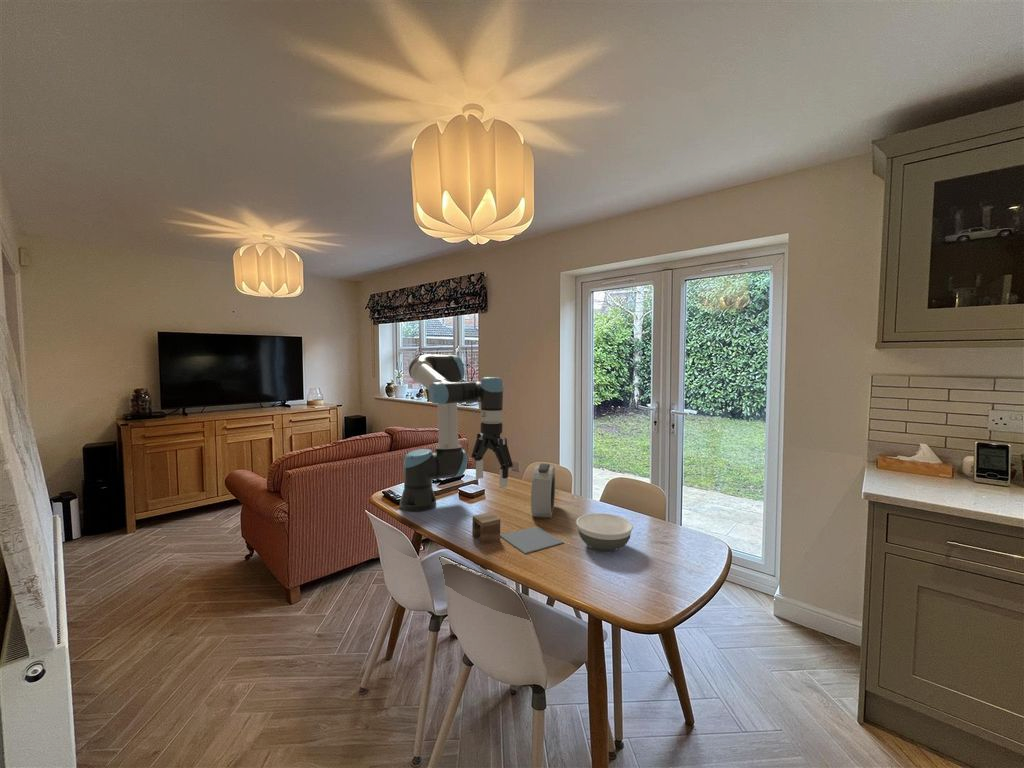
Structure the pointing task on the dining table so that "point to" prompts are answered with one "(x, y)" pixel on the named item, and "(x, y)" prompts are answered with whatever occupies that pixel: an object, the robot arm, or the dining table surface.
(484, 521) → the notched open box
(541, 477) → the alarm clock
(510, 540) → the mat
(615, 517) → the bowl
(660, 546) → the dining table surface
